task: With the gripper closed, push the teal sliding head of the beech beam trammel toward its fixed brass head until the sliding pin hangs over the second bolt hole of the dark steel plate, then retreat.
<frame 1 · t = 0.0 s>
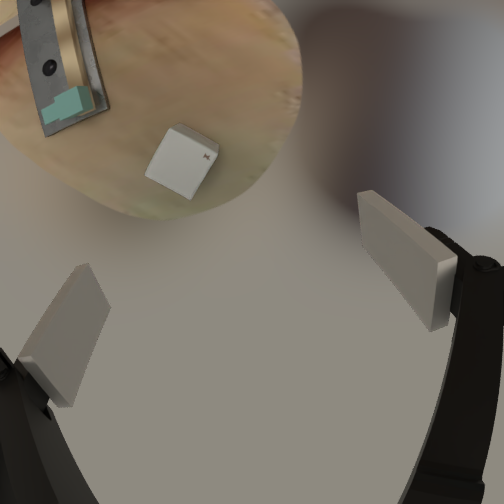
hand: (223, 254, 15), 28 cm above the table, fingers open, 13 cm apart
product box: (187, 153, 39), on the table
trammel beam: (52, 38, 27), on the bolt plate, point 4 cm above the table
bolt plate: (57, 44, 30), on the table
sliding head: (67, 107, 31), point 4 cm above the table, slide at 0.0 cm
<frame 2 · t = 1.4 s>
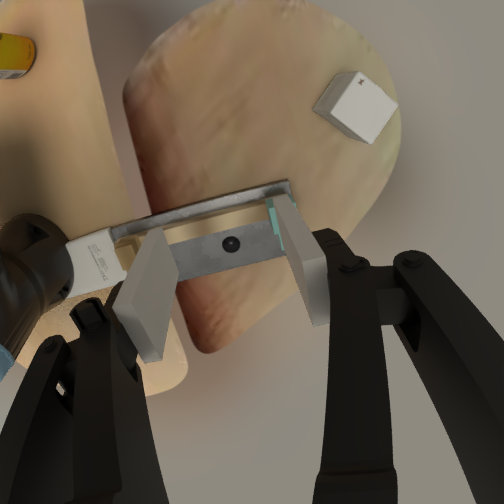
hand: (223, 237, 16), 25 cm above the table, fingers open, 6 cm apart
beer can: (21, 58, 29), on the table
external hard drive: (87, 262, 43), on the table, touching arm, bolt plate
product box: (342, 105, 37), on the table
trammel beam: (202, 240, 40), on the bolt plate, point 4 cm above the table
bolt plate: (206, 237, 43), on the table
sliding head: (283, 221, 39), point 4 cm above the table, slide at 0.0 cm
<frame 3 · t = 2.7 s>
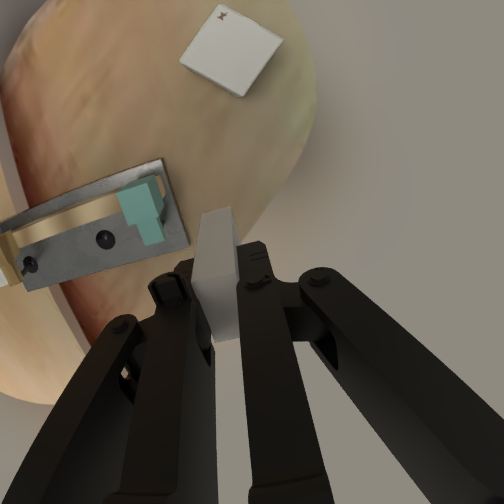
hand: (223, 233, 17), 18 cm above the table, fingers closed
product box: (228, 59, 28), on the table
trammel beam: (66, 235, 30), on the bolt plate, point 4 cm above the table
bolt plate: (82, 231, 34), on the table
sliding head: (148, 209, 30), point 4 cm above the table, slide at 0.0 cm
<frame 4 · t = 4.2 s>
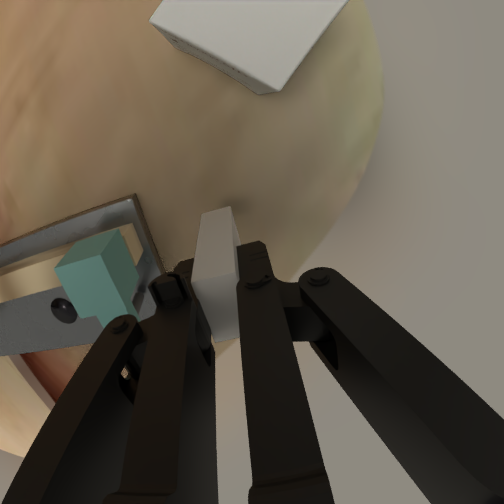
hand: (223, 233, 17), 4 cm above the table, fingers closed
product box: (244, 31, 16), on the table
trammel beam: (8, 308, 19), on the bolt plate, point 4 cm above the table
bolt plate: (34, 295, 22), on the table
sliding head: (113, 284, 18), point 4 cm above the table, slide at 0.0 cm
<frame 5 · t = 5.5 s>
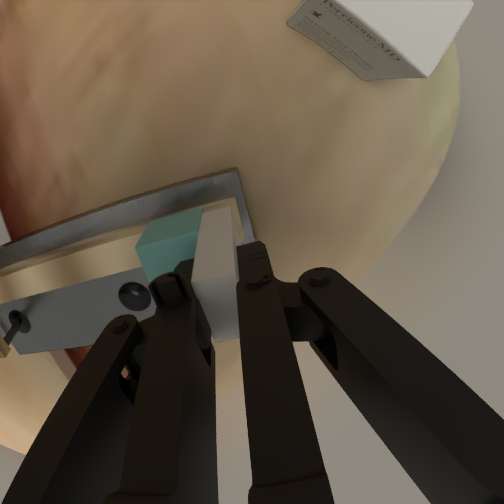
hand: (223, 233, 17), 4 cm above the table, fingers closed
product box: (349, 20, 16), on the table
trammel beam: (71, 294, 18), on the bolt plate, point 4 cm above the table
bolt plate: (95, 280, 22), on the table
sliding head: (190, 268, 18), point 4 cm above the table, slide at 1.7 cm, touching gripper
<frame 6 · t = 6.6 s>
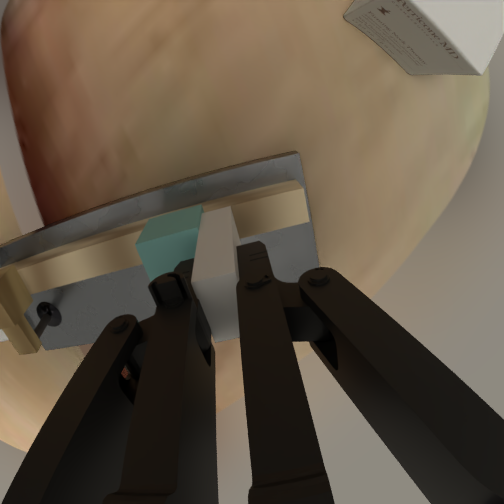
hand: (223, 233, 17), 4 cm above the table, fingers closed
product box: (396, 18, 16), on the table
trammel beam: (120, 280, 18), on the bolt plate, point 4 cm above the table
bolt plate: (139, 267, 22), on the table
sliding head: (190, 265, 18), point 4 cm above the table, slide at 5.4 cm, touching gripper
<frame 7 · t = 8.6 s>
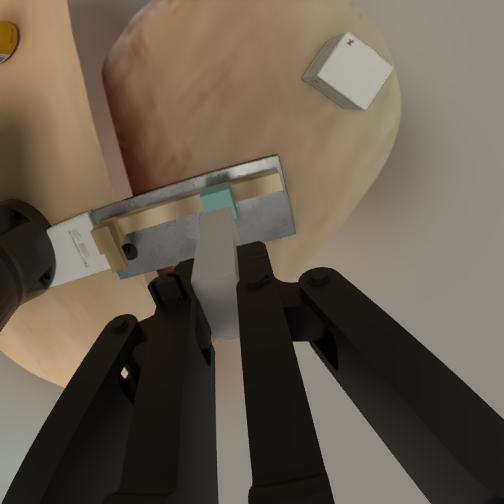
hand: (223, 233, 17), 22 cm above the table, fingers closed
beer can: (5, 43, 26), on the table
external hard drive: (70, 248, 40), on the table, touching arm, bolt plate
product box: (334, 74, 33), on the table
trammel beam: (184, 221, 36), on the bolt plate, point 4 cm above the table
bolt plate: (190, 219, 40), on the table
sliding head: (223, 211, 35), point 4 cm above the table, slide at 5.4 cm
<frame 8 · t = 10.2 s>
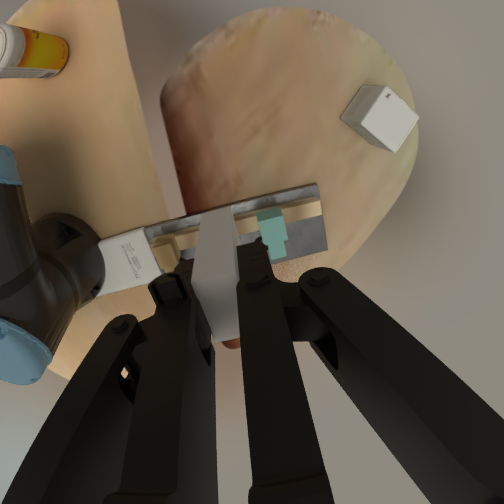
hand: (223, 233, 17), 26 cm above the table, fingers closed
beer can: (52, 57, 32), on the table
external hard drive: (119, 261, 46), on the table, touching arm, bolt plate
product box: (366, 114, 39), on the table
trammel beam: (237, 240, 42), on the bolt plate, point 4 cm above the table
bolt plate: (238, 236, 46), on the table
sliding head: (272, 232, 42), point 4 cm above the table, slide at 5.4 cm
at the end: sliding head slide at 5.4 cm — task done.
